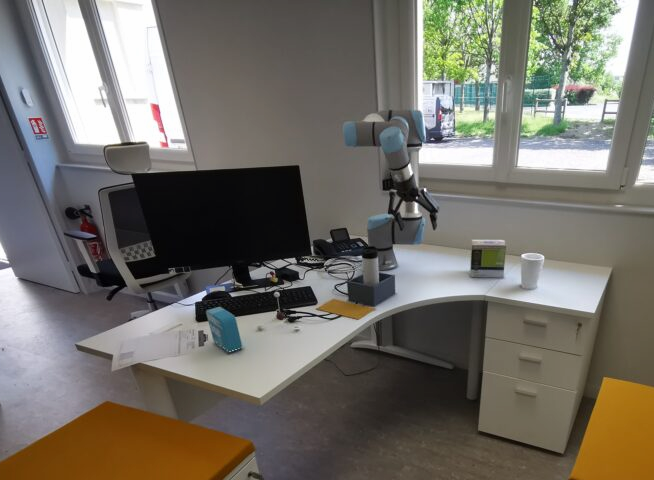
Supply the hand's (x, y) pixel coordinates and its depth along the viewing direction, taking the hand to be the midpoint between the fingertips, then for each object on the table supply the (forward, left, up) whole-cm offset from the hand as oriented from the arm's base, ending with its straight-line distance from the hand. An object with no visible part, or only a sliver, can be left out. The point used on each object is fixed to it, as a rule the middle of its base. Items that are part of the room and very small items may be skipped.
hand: (418, 228), depth 173 cm
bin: (-15, -12, -27) cm, 33 cm away
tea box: (+15, +37, -27) cm, 48 cm away
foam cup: (+37, +31, -27) cm, 55 cm away
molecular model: (-29, -52, -27) cm, 65 cm away
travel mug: (-15, -12, -27) cm, 33 cm away
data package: (-32, -71, -27) cm, 82 cm away
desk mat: (-17, -27, -27) cm, 42 cm away
